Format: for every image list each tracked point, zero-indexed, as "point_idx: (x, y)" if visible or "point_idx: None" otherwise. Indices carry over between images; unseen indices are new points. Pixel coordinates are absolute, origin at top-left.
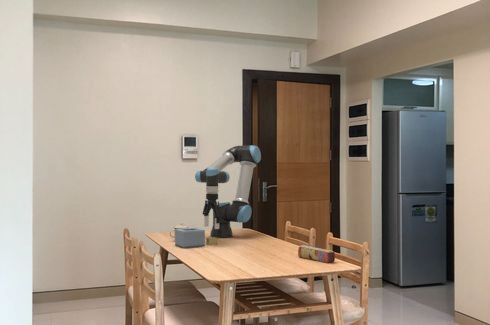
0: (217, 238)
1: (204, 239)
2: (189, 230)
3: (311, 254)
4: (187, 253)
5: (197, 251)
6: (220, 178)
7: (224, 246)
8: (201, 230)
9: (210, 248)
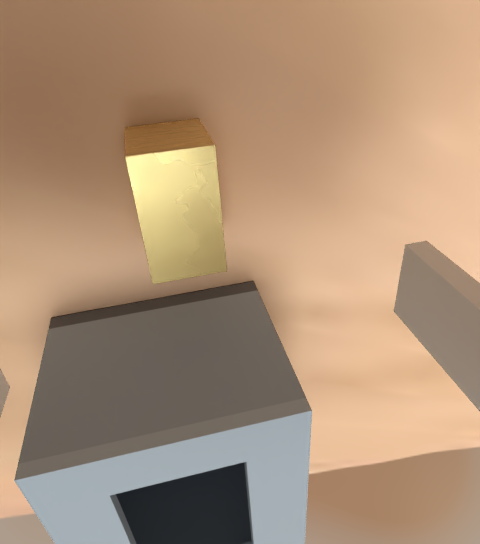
0: (212, 142)
1: (273, 328)
2: (263, 530)
3: None
4: (423, 418)
5: (408, 366)
6: None
7: (350, 88)
8: (308, 439)
9: (364, 261)
